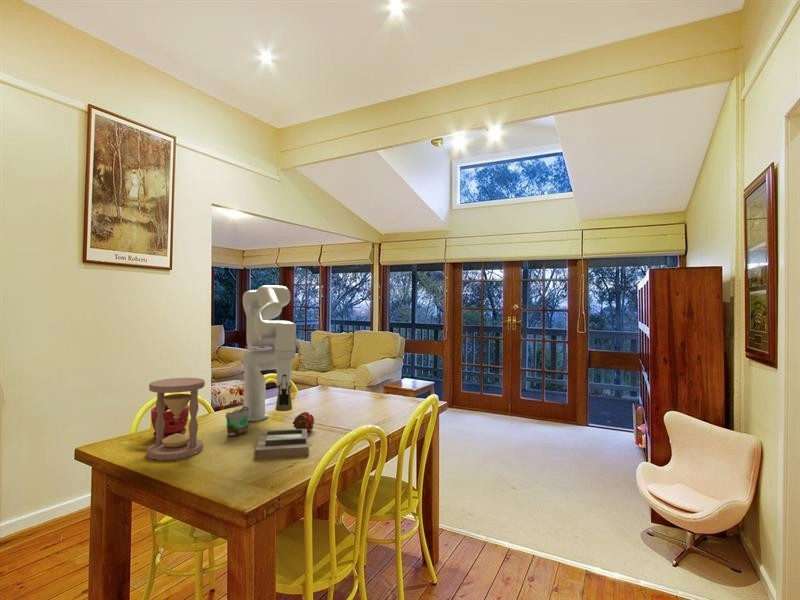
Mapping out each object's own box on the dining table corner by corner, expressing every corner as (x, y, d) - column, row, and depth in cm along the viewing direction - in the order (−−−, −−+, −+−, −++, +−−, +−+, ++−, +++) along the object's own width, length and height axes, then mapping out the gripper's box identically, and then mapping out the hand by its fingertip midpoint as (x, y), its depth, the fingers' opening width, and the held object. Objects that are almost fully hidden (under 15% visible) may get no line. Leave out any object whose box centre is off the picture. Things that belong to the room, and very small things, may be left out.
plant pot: (148, 435, 166) (149, 405, 166) (184, 429, 174) (185, 401, 174) (152, 444, 155) (153, 412, 156) (191, 437, 163) (191, 407, 163)
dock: (260, 438, 164) (260, 427, 164) (306, 436, 168) (306, 425, 168) (255, 459, 142) (255, 445, 142) (308, 455, 147) (308, 442, 147)
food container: (239, 439, 163) (239, 413, 163) (225, 438, 164) (225, 412, 164) (256, 430, 175) (256, 406, 175) (242, 429, 176) (243, 405, 176)
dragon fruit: (302, 439, 169) (301, 435, 180) (320, 425, 172) (317, 422, 183) (290, 422, 168) (289, 419, 180) (307, 409, 171) (305, 406, 182)
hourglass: (213, 447, 153) (215, 379, 153) (173, 464, 137) (175, 388, 137) (177, 441, 159) (179, 376, 159) (135, 456, 143) (137, 383, 143)
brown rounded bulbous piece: (278, 412, 151) (279, 382, 151) (273, 408, 156) (273, 379, 156) (294, 409, 155) (295, 380, 155) (288, 406, 160) (289, 378, 160)
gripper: (275, 352, 163) (274, 399, 163) (273, 357, 147) (272, 409, 146) (295, 352, 165) (294, 398, 164) (295, 357, 149) (294, 408, 148)
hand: (283, 403), depth 155 cm, fingers closed on brown rounded bulbous piece, 4 cm apart
